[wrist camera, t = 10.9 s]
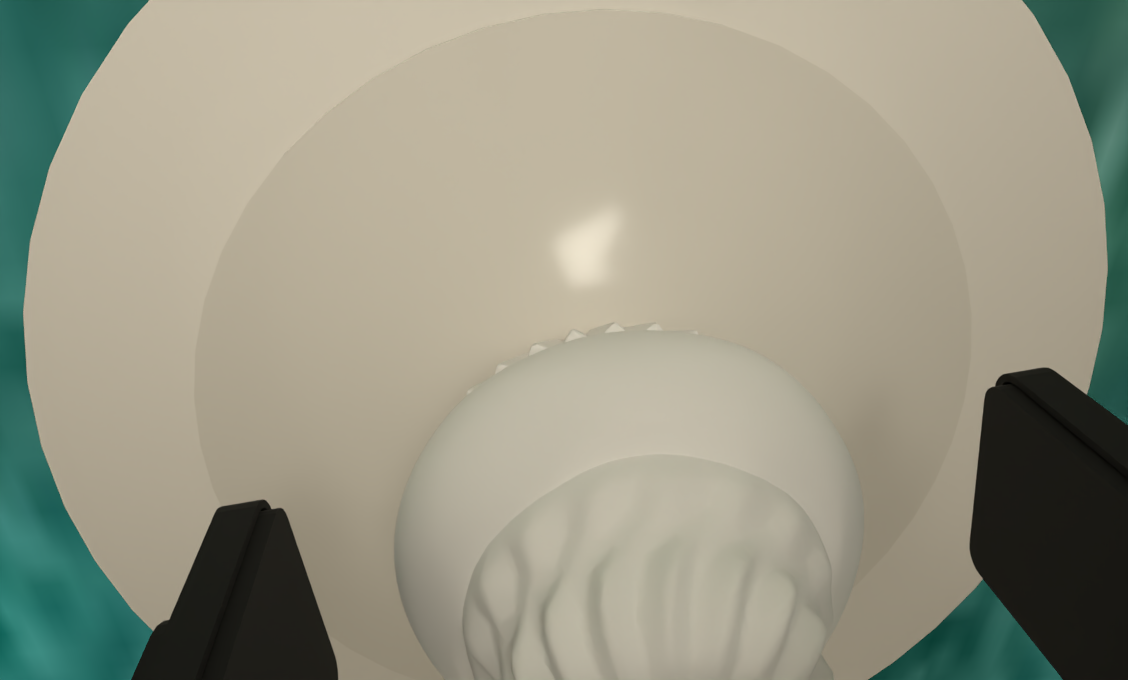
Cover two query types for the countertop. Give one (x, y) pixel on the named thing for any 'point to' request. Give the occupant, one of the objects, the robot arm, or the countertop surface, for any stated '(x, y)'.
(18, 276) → the countertop surface
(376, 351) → the plate
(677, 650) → the muffin
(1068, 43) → the countertop surface
